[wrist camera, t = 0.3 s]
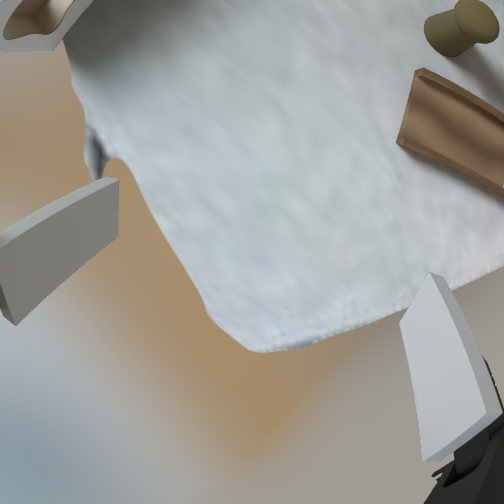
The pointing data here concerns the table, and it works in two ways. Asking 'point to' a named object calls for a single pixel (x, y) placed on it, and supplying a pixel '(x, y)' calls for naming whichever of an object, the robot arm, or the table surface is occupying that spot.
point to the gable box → (37, 23)
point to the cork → (461, 27)
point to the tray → (454, 129)
